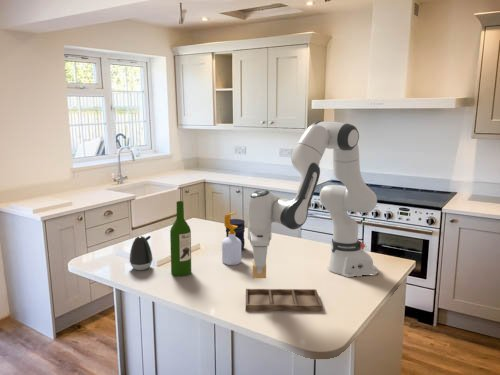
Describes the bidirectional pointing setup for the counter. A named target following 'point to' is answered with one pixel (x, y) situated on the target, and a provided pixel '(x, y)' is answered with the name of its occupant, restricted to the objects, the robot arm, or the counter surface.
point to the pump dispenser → (141, 253)
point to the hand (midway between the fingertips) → (259, 269)
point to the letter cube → (259, 275)
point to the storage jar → (238, 230)
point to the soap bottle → (231, 245)
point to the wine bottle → (180, 244)
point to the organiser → (282, 300)
